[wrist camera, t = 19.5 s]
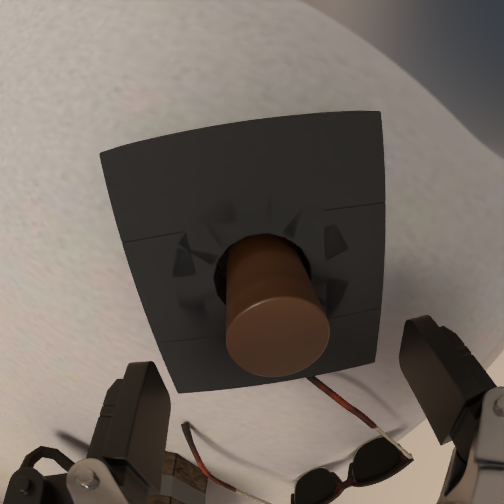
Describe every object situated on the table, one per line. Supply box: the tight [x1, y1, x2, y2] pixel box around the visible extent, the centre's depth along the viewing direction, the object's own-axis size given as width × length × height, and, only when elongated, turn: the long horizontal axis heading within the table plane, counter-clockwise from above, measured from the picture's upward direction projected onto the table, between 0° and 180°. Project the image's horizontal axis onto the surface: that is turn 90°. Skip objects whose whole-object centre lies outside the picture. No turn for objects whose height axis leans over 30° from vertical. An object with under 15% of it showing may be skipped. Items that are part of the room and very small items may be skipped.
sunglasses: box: [181, 376, 414, 504], centre depth 22 cm, size 14×16×5 cm
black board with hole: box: [100, 111, 385, 393], centre depth 16 cm, size 14×12×2 cm
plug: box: [226, 233, 330, 377], centre depth 14 cm, size 4×4×7 cm
